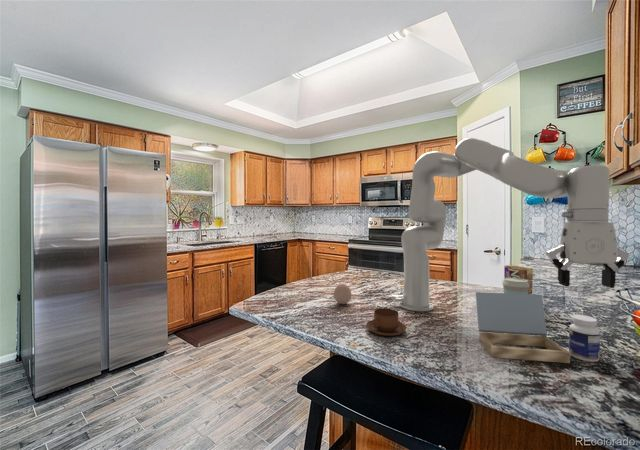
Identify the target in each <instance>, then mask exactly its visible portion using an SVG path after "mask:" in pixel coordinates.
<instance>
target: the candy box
mask: <svg viewBox="0 0 640 450" xmlns="http://www.w3.org/2000/svg"><path fill="white" fill-rule="evenodd" d="M503 269H504V270H503V271H504V272H503V273H504V274H503V275H504V277H503V279H504V278H521V279H525V280H528V283H529V286H530V287H529V288H528V294H533V285H534V284H533V282H534V281H533V278H534V273H533V271H534V269H533V267H526V266H519V265H513V264H507V265H504V267H503Z"/></svg>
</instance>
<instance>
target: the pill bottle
mask: <svg viewBox="0 0 640 450" xmlns="http://www.w3.org/2000/svg"><path fill="white" fill-rule="evenodd" d="M571 319H572V320H571V321H572V322H573V323H571V324H570V325H569V331H568V332H569V338H568V339H569V340H568V345H569V347H568V352H570V356H572V357H574V358H575V359H577V360H581V361H584V362H591V363H595V362H599V360H600V356H601V352H600V350H601V332H600V330H599V329H598V328H597V326H598V319H596V318H595V317H593V316H588V315H584V314H574V315H572V317H571Z"/></svg>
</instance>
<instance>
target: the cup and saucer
mask: <svg viewBox="0 0 640 450" xmlns="http://www.w3.org/2000/svg"><path fill="white" fill-rule="evenodd" d="M366 328H367V329H368V330H369V331H370V332H372V333H374V334H376V335H379V336H384V337H388V336H389V337H395V336H398V335H401V334H403V333H404V332H406V330H407V326H406V324H405V323H403V322H401V321H399V311H398V310H395V309H393V308H386V307H385V308H383V307H382V308H376V309H374V311H373V319H372V320H369V321H367V322H366Z"/></svg>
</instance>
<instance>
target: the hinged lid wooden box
mask: <svg viewBox="0 0 640 450" xmlns="http://www.w3.org/2000/svg"><path fill="white" fill-rule="evenodd" d="M478 336H479V337H478V338H479V339H478V341H479V343H480V344H481V345H482V346H483V347H484V348H485V350H486V352H488V353H489V355H490V356H491V357H492V358H499V359H511V360H513V359H514V360H525V361H526V360H527V361H537V362H538V361H539V362H552V363H564V364H570V363H571V355H570V352H569V350H567V349H565V348H564V347H563V346H561V345H560V344H558V343H557V342H556V341H555V340H553V339H551V338H550V337H548V335H547V336H538V335H522V334H506V333H490V332H479V331H478ZM495 344H500V345H495ZM501 345H502V346H501ZM505 345H516V346H526V347H516V346H505ZM527 346H528V347H529V348H528V347H527ZM531 347H542V349H541V348H531ZM543 347H545V348H546V349H545V348H544V349H543Z"/></svg>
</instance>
